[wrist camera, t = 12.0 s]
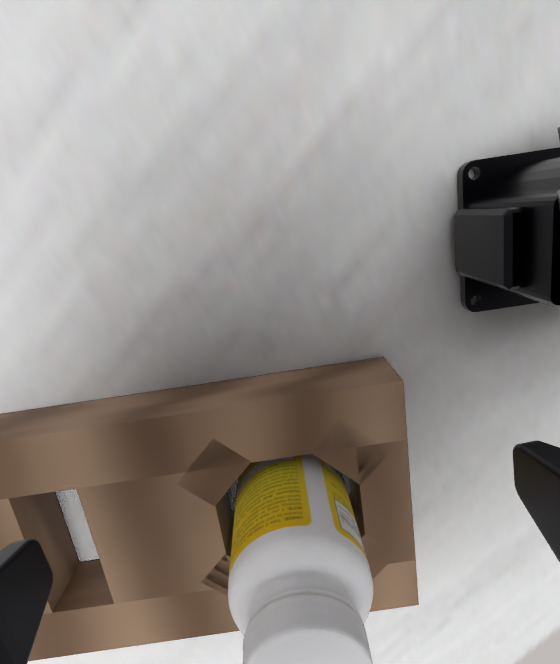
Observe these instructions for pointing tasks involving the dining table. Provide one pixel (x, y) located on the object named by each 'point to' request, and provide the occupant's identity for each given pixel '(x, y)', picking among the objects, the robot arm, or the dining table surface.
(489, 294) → the robot arm
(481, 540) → the dining table surface
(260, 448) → the socket board
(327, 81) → the dining table surface
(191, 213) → the dining table surface
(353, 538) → the supplement bottle
